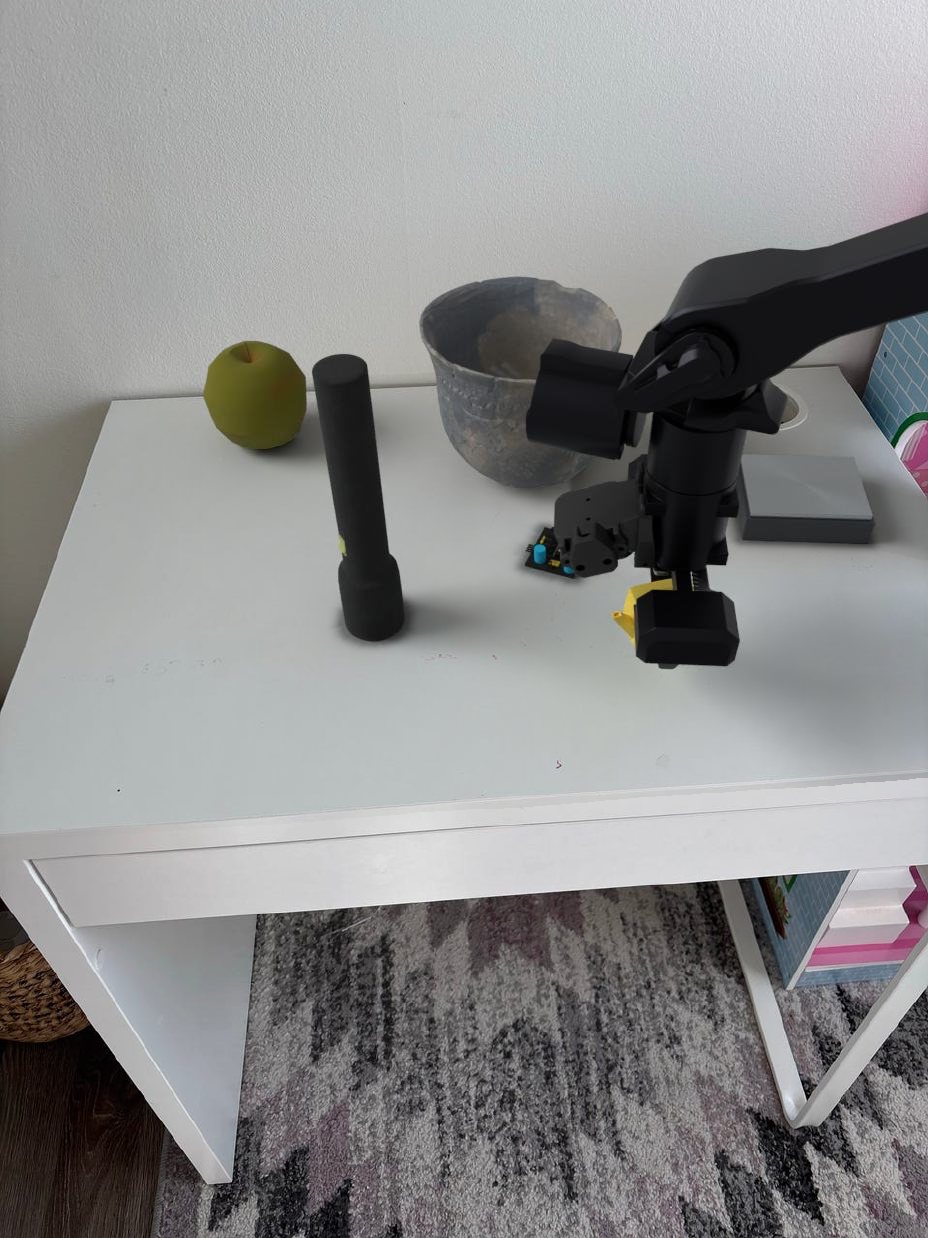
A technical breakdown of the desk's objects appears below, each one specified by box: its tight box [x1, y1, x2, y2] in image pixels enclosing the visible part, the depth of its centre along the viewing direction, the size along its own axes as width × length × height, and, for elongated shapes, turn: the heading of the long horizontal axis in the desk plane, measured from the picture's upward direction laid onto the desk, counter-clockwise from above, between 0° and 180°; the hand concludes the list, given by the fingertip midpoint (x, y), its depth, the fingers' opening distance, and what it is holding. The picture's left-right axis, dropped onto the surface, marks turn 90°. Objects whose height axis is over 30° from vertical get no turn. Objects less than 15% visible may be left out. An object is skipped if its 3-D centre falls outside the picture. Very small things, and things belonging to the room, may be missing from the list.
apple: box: [202, 340, 308, 450], centre depth 95 cm, size 10×10×11 cm
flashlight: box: [311, 353, 406, 642], centre depth 72 cm, size 5×24×5 cm
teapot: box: [610, 579, 694, 651], centre depth 71 cm, size 8×6×5 cm
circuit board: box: [524, 526, 576, 580], centre depth 85 cm, size 5×2×5 cm
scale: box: [736, 453, 876, 544], centre depth 88 cm, size 11×9×3 cm
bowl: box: [418, 275, 623, 489], centre depth 89 cm, size 18×18×15 cm
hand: (663, 635), depth 72 cm, fingers closed on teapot, 6 cm apart
